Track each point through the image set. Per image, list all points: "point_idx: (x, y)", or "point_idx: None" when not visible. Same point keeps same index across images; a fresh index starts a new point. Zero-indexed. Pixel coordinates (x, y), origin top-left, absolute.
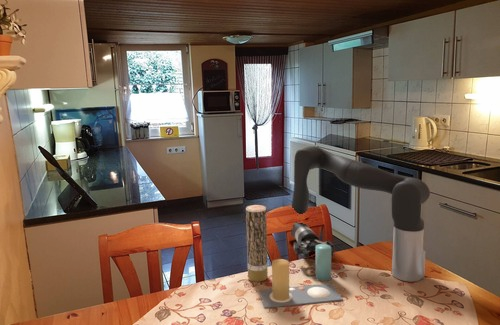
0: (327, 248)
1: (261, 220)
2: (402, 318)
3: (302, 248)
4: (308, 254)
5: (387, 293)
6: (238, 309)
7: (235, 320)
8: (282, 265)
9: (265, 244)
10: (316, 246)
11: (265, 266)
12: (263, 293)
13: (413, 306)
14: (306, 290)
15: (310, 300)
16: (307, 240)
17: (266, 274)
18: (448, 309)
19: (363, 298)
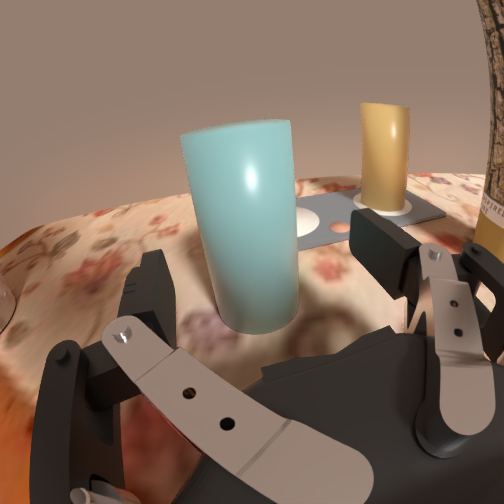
0: (212, 127)
1: (480, 16)
2: (130, 205)
3: (436, 246)
4: (353, 217)
5: (91, 252)
6: (432, 184)
7: (416, 173)
8: (372, 103)
9: (493, 111)
10: (283, 121)
11: (482, 199)
12: (427, 205)
13: (85, 229)
14: (322, 223)
15: (304, 200)
16: (493, 402)
17: (477, 235)
18: (48, 233)
19: (160, 230)
